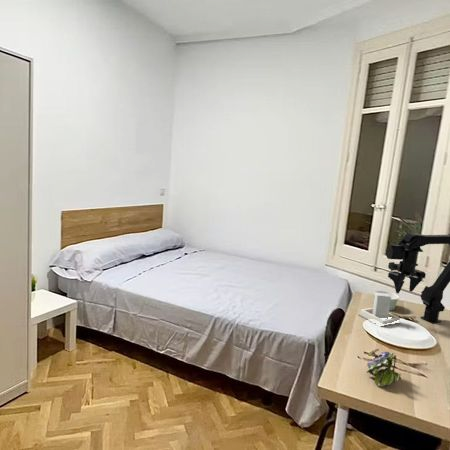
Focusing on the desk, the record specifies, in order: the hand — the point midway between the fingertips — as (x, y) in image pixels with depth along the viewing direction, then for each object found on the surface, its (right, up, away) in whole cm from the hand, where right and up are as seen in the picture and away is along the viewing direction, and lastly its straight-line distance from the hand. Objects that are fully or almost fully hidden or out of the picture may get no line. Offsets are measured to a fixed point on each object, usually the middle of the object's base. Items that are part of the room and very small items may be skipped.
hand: (404, 292), depth 170 cm
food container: (-2, -11, +16) cm, 19 cm away
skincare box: (-12, -12, 0) cm, 17 cm away
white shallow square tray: (-12, -12, 0) cm, 17 cm away
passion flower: (-31, -20, -49) cm, 61 cm away
